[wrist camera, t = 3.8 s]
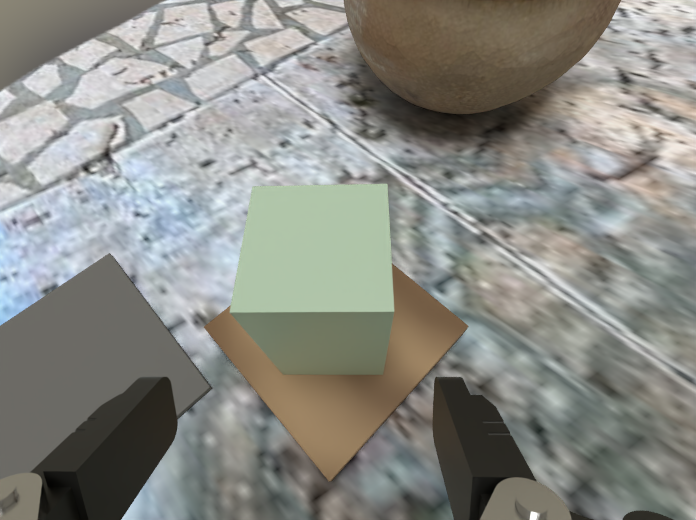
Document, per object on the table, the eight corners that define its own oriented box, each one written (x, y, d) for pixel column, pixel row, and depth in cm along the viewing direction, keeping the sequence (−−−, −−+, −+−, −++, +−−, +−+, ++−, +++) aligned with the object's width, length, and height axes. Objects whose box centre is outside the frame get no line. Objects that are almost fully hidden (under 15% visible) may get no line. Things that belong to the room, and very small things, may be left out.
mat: (112, 255, 29) (109, 253, 28) (212, 388, 23) (209, 387, 23) (-84, 387, 24) (-91, 386, 24) (-16, 588, 19) (-23, 590, 18)
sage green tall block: (291, 284, 25) (252, 186, 16) (379, 284, 25) (387, 183, 16) (283, 374, 22) (229, 312, 13) (382, 374, 22) (394, 311, 13)
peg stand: (338, 230, 29) (329, 148, 22) (463, 333, 24) (505, 274, 17) (212, 334, 25) (148, 277, 18) (331, 481, 20) (312, 486, 13)
